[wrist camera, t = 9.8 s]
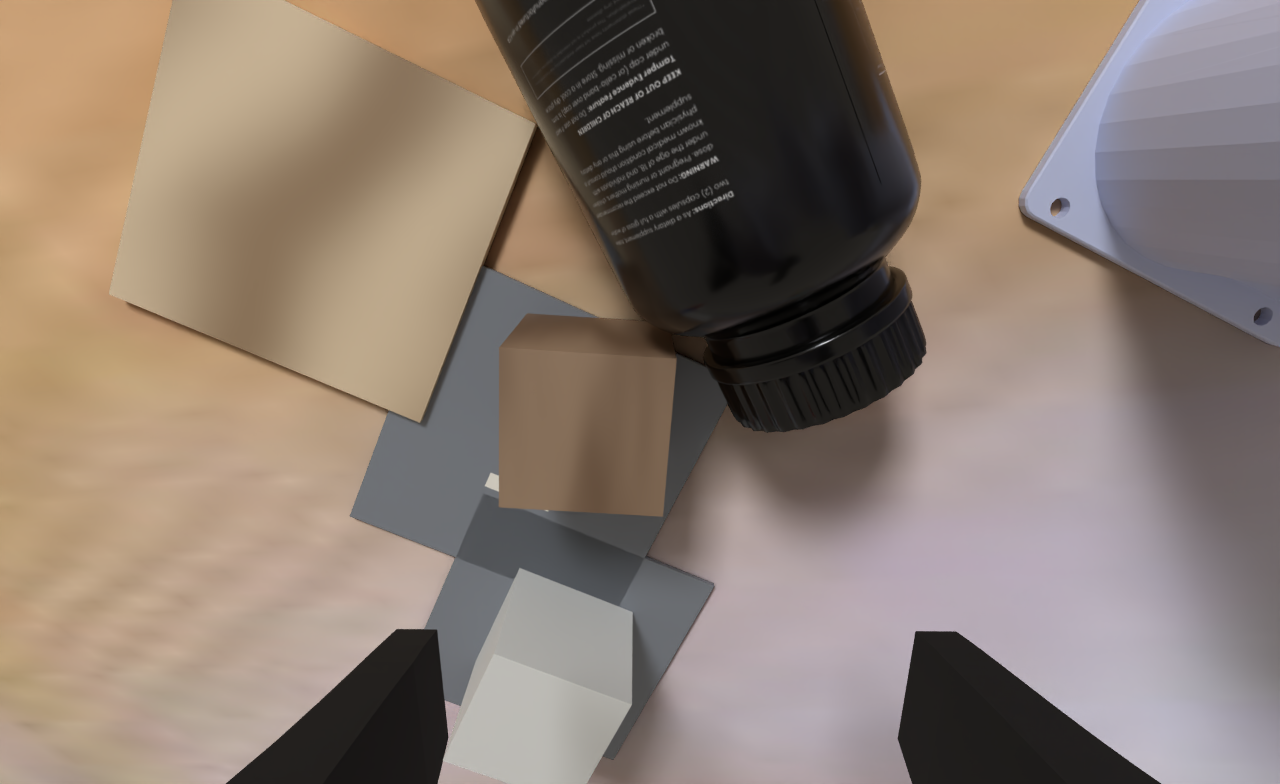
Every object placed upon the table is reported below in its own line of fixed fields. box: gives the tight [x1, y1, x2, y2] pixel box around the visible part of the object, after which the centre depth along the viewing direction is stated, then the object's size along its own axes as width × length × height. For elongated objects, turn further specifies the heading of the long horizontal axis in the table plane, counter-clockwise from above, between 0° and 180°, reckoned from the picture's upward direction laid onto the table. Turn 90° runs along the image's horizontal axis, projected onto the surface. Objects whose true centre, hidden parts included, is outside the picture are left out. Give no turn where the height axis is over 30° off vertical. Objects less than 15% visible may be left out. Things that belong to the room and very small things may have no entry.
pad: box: [109, 0, 538, 423], centre depth 18 cm, size 9×9×1 cm
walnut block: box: [499, 313, 677, 517], centre depth 17 cm, size 4×4×4 cm
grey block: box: [443, 568, 633, 784], centre depth 20 cm, size 4×4×4 cm
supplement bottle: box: [475, 0, 926, 433], centre depth 14 cm, size 7×7×12 cm
